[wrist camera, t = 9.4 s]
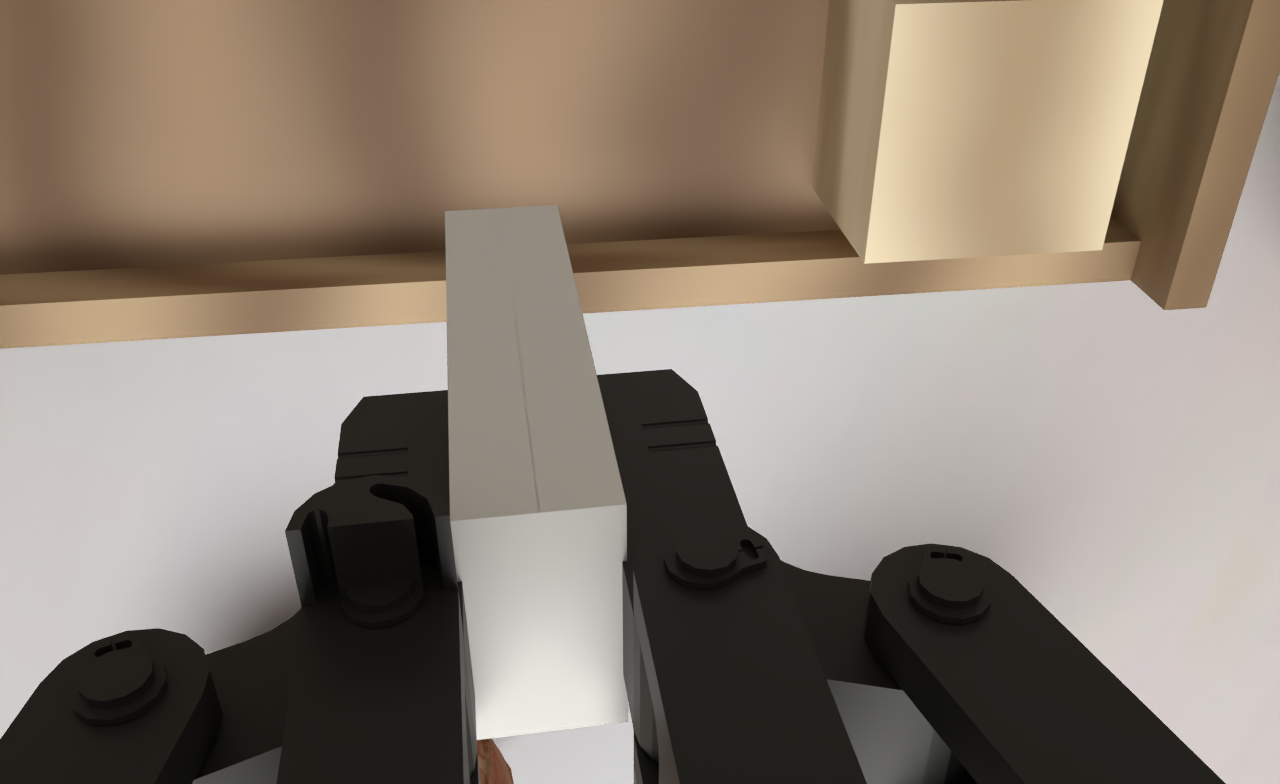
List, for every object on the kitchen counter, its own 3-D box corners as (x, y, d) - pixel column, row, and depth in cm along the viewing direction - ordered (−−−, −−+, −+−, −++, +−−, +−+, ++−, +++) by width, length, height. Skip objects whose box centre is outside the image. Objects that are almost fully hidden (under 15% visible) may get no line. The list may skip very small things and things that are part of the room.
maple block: (812, 187, 25) (864, 263, 22) (833, -42, 23) (895, 3, 19) (1020, 177, 26) (1102, 250, 23) (1064, -49, 23) (1164, -4, 20)
